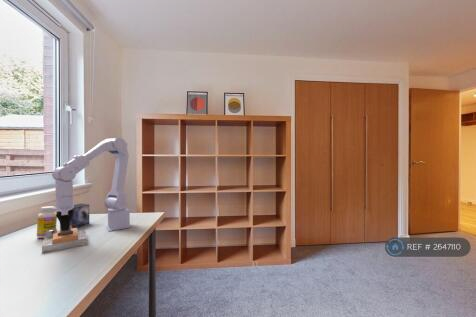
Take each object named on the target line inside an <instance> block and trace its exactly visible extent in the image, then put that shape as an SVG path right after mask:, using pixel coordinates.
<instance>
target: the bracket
mask: <svg viewBox="0 0 476 317" xmlns="http://www.w3.org/2000/svg"><path fill="white" fill-rule="evenodd" d="M77 230H78V227H77V228H72V229H71V234H68V235H62V236H60V230H57V232H56V233H54V234H53V239H52V244H53V243H59V242H64V241H70V240H75V239H78V232H77Z"/></svg>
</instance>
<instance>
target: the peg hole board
mask: <svg viewBox="0 0 476 317" xmlns="http://www.w3.org/2000/svg"><path fill="white" fill-rule="evenodd" d="M57 231H58V229H57V228H56V229H50V230H47V231H46V236H45V238H43V241H42V244H41V245H42V246H41V253H42V254H45V253H49V252H55V251H60V250H64V249H69V248H74V247H80V246H84V245H88V237H87V233H86V232H87V231H86V229H85V228H84V229H77V232H78V239H75V240H70V241H64V242H59V243H53V244H52V239H53V234H54V233H56V232H57Z"/></svg>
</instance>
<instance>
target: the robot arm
mask: <svg viewBox="0 0 476 317" xmlns="http://www.w3.org/2000/svg"><path fill="white" fill-rule="evenodd" d="M104 152H109V153H110V154H111V155H112V156H113V157H114V158H115V163H114V168H113V174H112V175H113V176H112V183H111V189H110V191H108V192H107V196H106V197H105V199H104V206H105V207H106V209H107V225H106V229H107V231H108V232H112V231H118V230H124V229H128V228H129V229H130V228H131V222H130V220H131V218H130V209H129V208H126V207H127V205H128V199H127V193H126V192H125V190H124V189H125V184H126V177H127V176H126V175H127V170H128V163H129V157H130V156H129V155H130V154H129V151H128V143H127V142H126V141H125V139H124V138H123V137H112V138H111V137H110V138H108V137H107V138H105V139H104V140H102V141H100V142H99V143H98V144H97V145H95V146H94V147H93V148H91V149H90V150H89V151H87V152H86V153H84V154H83V155H82V154H79V155H74V156H73V157H72V159H71V160H69V161H66V162H63V164H62V166H58V167H56V168H55V169H54V170H53V172H52V173H51V176H52V179H53V180H55V182H54V183H55V206H54V208H52V210H54V211H56V213H57V214H56V217H57V220H58V222H59V226H60V225H61V229H62V231H66V230H69V226H70V220H71V218H72V216H73V213H72V212H73V208H74V206H73V205H74V184H73V180H74V179H75V178H76V175H77V174H79V172H81V171H82V170H84V169H85V168H87V167H88V166H89V165H90V161H91V160H93V159H95V158H97V157H98V156H99V155H101V154H103V153H104Z"/></svg>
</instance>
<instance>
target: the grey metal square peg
mask: <svg viewBox="0 0 476 317" xmlns="http://www.w3.org/2000/svg"><path fill="white" fill-rule="evenodd" d="M59 231H60V236H62V235H68V234H71V220H70V226H69V230H66V231H62V229H61V225H60V224H59Z"/></svg>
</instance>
